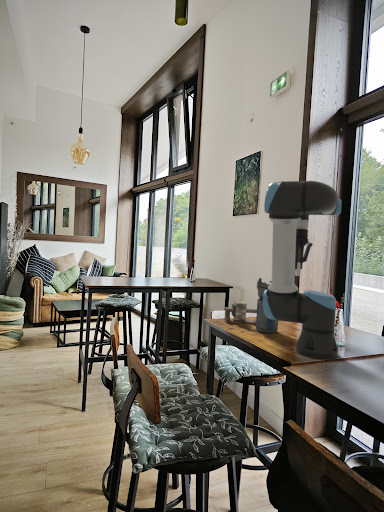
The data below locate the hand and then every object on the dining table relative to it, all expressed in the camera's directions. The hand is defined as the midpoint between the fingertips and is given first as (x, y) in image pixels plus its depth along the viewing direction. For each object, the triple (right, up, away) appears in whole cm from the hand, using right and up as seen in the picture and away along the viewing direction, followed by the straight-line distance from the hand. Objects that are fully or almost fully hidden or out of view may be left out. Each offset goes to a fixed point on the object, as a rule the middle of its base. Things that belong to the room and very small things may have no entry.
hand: (297, 275), depth 173 cm
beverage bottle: (-17, -26, -10) cm, 33 cm away
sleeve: (-28, -23, +7) cm, 37 cm away
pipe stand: (-25, -25, +8) cm, 36 cm away
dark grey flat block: (-31, -21, +7) cm, 39 cm away
